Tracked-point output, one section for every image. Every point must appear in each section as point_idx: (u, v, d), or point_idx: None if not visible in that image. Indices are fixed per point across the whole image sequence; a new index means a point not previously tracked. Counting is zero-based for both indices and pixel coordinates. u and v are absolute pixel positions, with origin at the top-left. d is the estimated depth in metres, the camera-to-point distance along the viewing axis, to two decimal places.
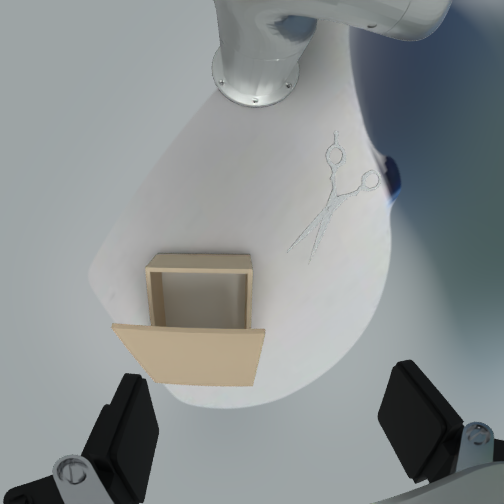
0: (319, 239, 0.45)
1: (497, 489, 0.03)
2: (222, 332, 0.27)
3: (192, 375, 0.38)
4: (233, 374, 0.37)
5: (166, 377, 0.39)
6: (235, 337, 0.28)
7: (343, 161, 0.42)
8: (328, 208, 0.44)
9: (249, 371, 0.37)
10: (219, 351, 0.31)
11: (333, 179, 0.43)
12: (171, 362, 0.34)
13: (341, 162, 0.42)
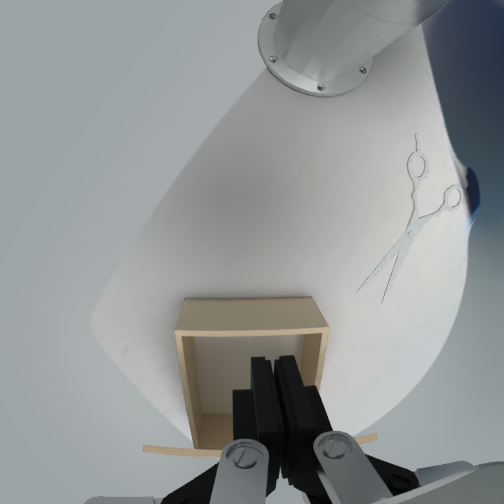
0: (395, 273, 0.33)
1: (497, 489, 0.03)
2: None
3: None
4: None
5: None
6: None
7: (426, 173, 0.30)
8: (408, 234, 0.32)
9: None
10: None
11: (415, 196, 0.31)
12: None
13: (424, 175, 0.30)
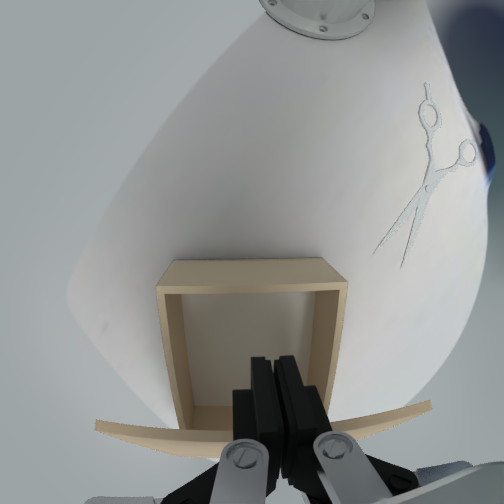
0: (415, 232, 0.28)
1: (497, 489, 0.03)
2: (357, 427, 0.10)
3: None
4: None
5: (199, 456, 0.22)
6: (374, 426, 0.11)
7: (439, 124, 0.25)
8: (426, 187, 0.27)
9: None
10: None
11: (430, 147, 0.26)
12: None
13: (437, 125, 0.25)
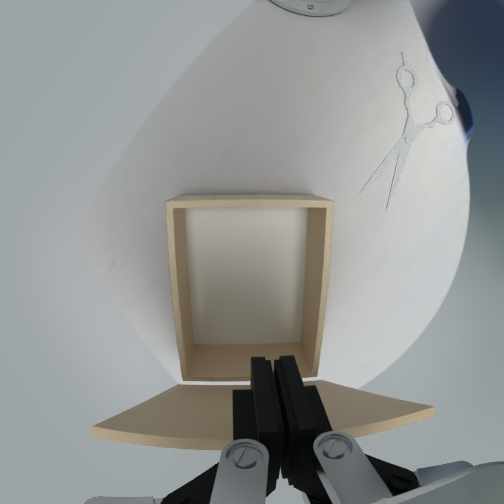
0: (397, 177, 0.31)
1: (497, 489, 0.03)
2: (359, 435, 0.10)
3: None
4: None
5: None
6: None
7: (415, 86, 0.28)
8: (405, 139, 0.30)
9: None
10: None
11: (407, 104, 0.29)
12: None
13: (413, 86, 0.28)
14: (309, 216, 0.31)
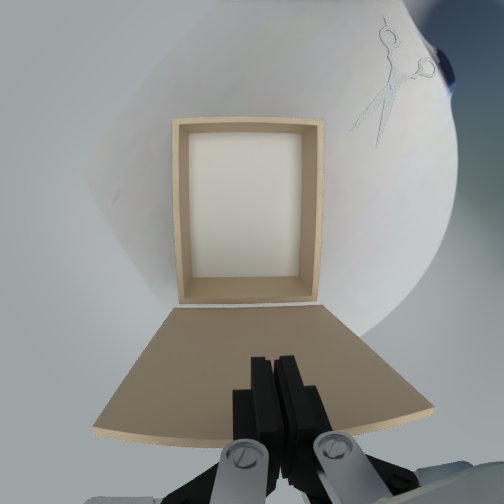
0: (385, 119, 0.33)
1: (497, 489, 0.03)
2: (357, 433, 0.10)
3: None
4: None
5: None
6: None
7: (398, 43, 0.30)
8: (390, 86, 0.31)
9: None
10: None
11: (391, 58, 0.30)
12: None
13: (396, 44, 0.30)
14: (303, 146, 0.32)
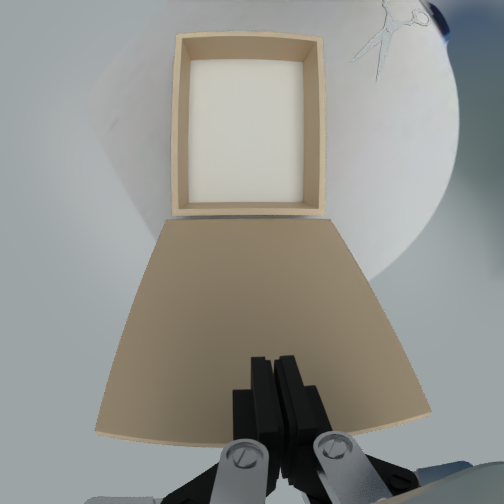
0: (383, 56, 0.30)
1: (497, 489, 0.03)
2: (354, 434, 0.11)
3: None
4: None
5: None
6: None
7: None
8: (386, 29, 0.28)
9: None
10: None
11: (386, 6, 0.27)
12: None
13: None
14: (304, 71, 0.29)
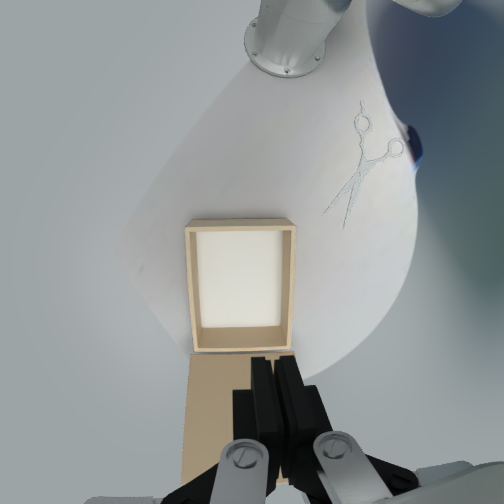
0: (352, 203, 0.45)
1: (497, 489, 0.03)
2: (282, 483, 0.25)
3: None
4: None
5: None
6: None
7: (370, 129, 0.42)
8: (359, 172, 0.43)
9: None
10: None
11: (362, 145, 0.42)
12: None
13: (368, 129, 0.42)
14: (283, 234, 0.44)
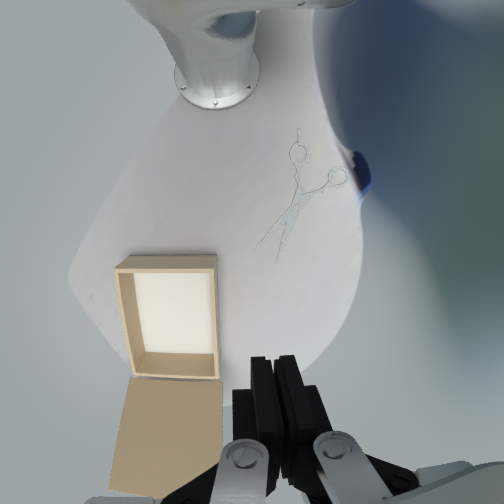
0: (285, 238, 0.46)
1: (497, 489, 0.03)
2: None
3: None
4: None
5: None
6: None
7: (307, 159, 0.43)
8: (293, 206, 0.44)
9: None
10: None
11: (297, 177, 0.43)
12: None
13: (305, 160, 0.43)
14: None
